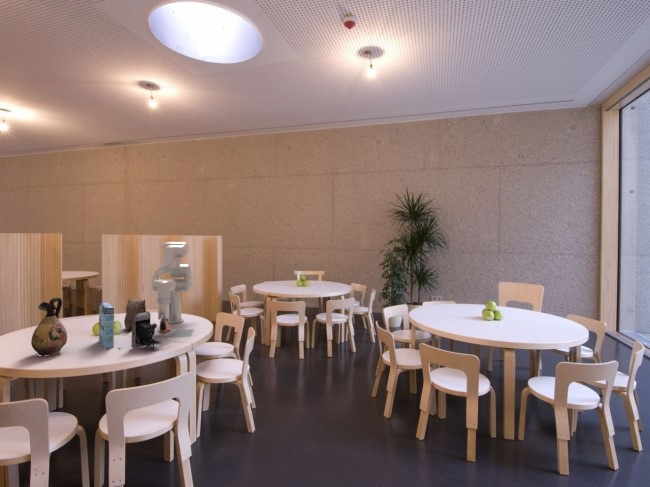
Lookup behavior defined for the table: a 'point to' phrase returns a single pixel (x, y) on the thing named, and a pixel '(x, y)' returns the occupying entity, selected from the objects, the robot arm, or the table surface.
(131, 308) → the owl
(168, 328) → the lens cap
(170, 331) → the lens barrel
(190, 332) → the board
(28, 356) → the table surface
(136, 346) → the vintage camera
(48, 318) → the ceramic jug
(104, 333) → the gum box
